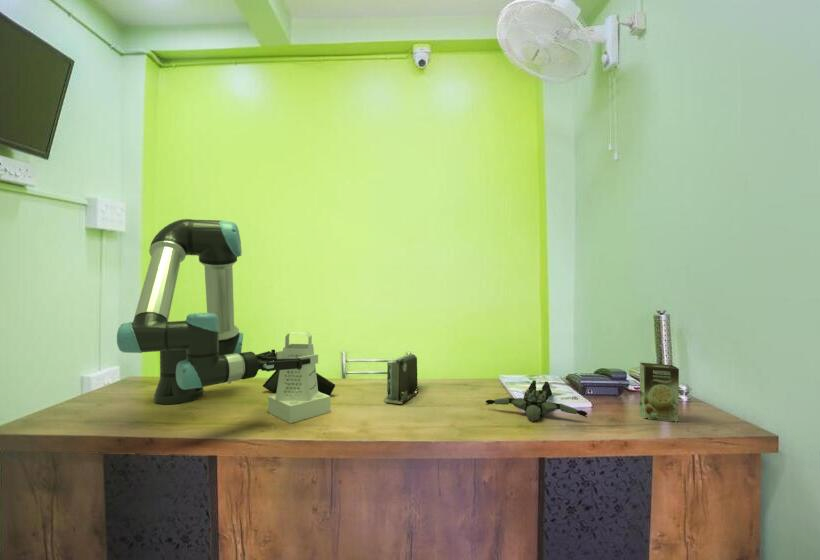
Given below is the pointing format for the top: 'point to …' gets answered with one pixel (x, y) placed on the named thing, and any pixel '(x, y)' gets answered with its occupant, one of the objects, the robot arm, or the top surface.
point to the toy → (536, 402)
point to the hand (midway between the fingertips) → (305, 355)
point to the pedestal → (299, 407)
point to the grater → (297, 372)
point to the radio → (401, 379)
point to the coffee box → (659, 391)
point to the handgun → (322, 383)
